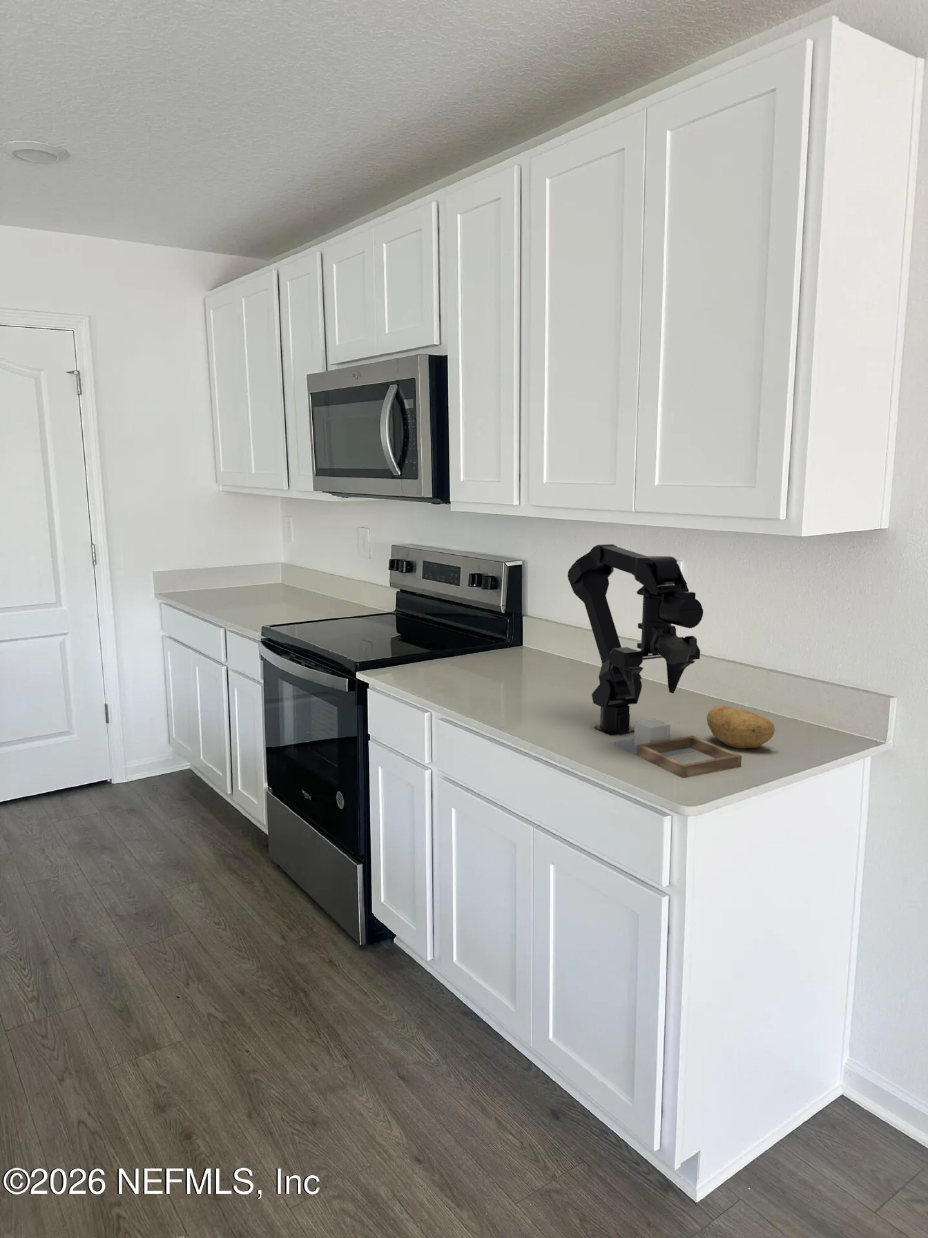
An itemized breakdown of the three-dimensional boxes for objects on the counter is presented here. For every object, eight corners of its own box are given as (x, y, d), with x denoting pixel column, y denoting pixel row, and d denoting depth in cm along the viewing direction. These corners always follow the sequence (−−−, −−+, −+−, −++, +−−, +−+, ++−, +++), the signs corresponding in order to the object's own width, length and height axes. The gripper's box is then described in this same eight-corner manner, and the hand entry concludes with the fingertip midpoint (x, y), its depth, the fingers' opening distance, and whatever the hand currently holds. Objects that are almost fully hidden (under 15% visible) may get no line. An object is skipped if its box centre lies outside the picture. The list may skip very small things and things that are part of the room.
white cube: (634, 744, 178) (635, 721, 177) (653, 741, 180) (654, 718, 179) (649, 752, 174) (650, 728, 173) (669, 748, 176) (670, 724, 175)
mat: (610, 744, 180) (610, 742, 180) (656, 736, 185) (656, 734, 185) (645, 761, 169) (646, 759, 169) (694, 753, 174) (694, 751, 174)
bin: (636, 757, 172) (637, 745, 171) (692, 747, 178) (692, 735, 177) (682, 779, 159) (683, 766, 159) (740, 768, 165) (741, 756, 165)
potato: (758, 760, 170) (761, 721, 168) (696, 744, 180) (698, 707, 179) (783, 750, 176) (785, 712, 175) (721, 734, 187) (723, 698, 185)
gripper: (643, 630, 161) (640, 711, 164) (721, 622, 169) (716, 699, 172) (609, 620, 171) (606, 697, 174) (683, 613, 179) (680, 686, 182)
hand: (653, 695), depth 175 cm, fingers open, 9 cm apart
